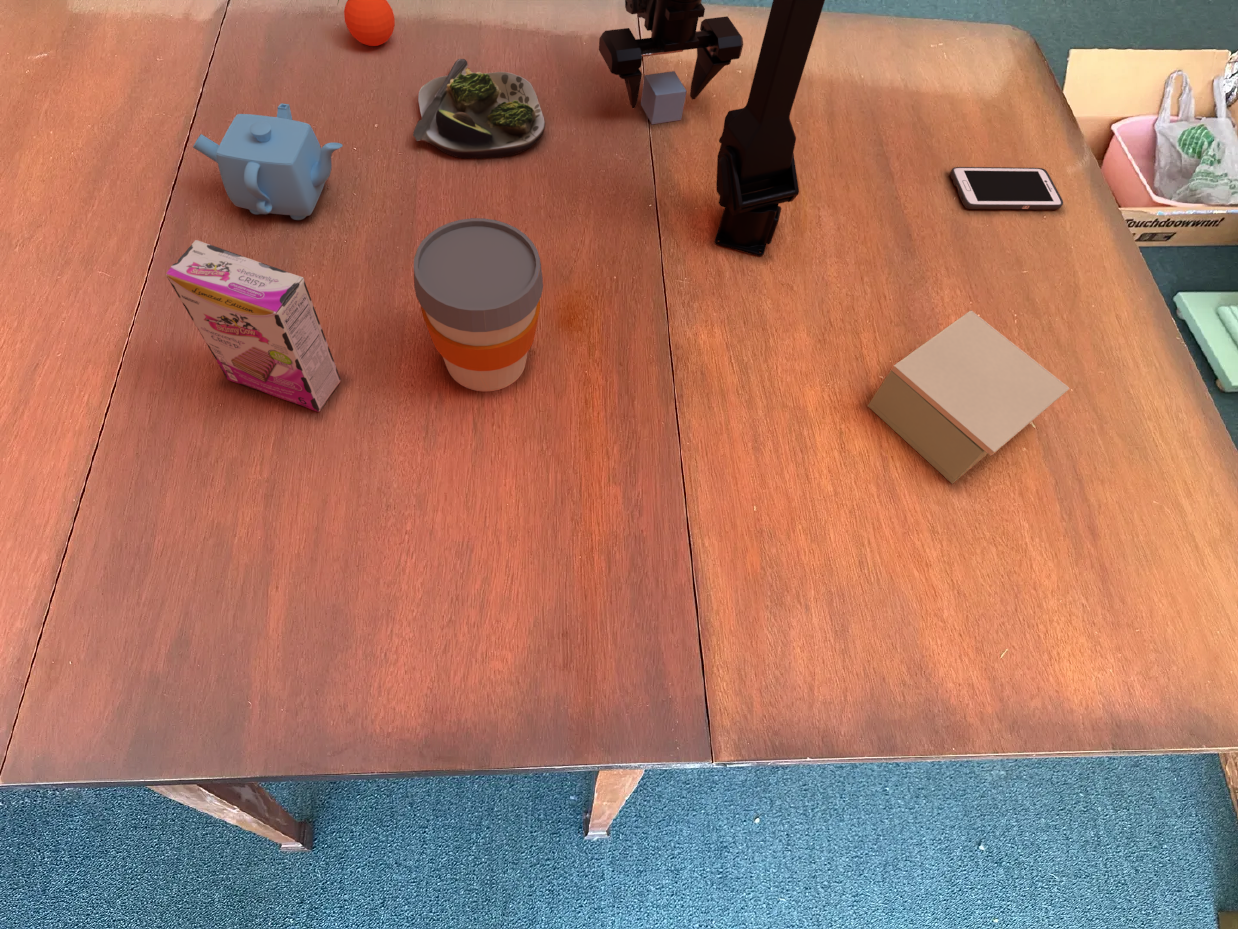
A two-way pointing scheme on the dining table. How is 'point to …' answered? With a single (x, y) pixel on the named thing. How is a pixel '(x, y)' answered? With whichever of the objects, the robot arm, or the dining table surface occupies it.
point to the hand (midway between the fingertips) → (662, 101)
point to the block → (663, 97)
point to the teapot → (271, 163)
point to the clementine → (369, 20)
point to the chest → (925, 428)
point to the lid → (980, 381)
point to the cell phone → (1005, 188)
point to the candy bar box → (257, 324)
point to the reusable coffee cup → (480, 299)
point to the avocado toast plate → (479, 113)
